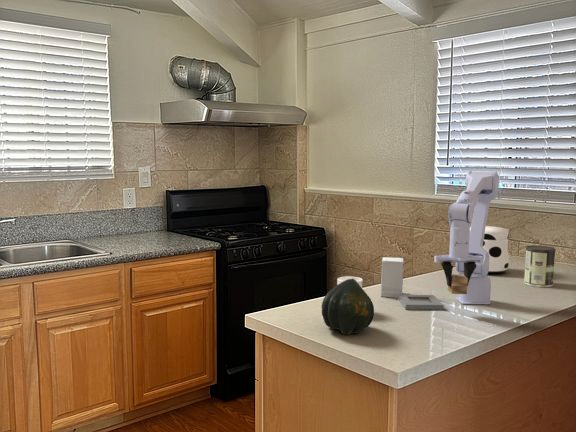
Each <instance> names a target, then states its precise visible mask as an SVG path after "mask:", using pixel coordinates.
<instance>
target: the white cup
mask: <svg viewBox="0 0 576 432" xmlns="http://www.w3.org/2000/svg"><path fill="white" fill-rule="evenodd" d="M352 278H353V279H354V280H355V281H356V282H357V283H358V284H359V285H360V286H361V288H362V289H363V280H364V279H363V278H362V277H358V276H351V275H350V276H349V275H348V276H347V275H346V276H340V277H337V279H336V280H337V281H336V282H337V285H338V284H340V283H342V282H344V281H345V280H348V279H352ZM337 285H336V286H337Z"/></svg>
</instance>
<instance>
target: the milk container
mask: <svg viewBox="0 0 576 432" xmlns="http://www.w3.org/2000/svg"><path fill="white" fill-rule="evenodd" d="M470 229H471V226H470ZM509 233H510V232H509V229H508V228H504V227H500V226H494V225H493V226H490V225H486V228H485V234H484V240H483V246H482V248H484V249H485V250H486V251H487V252H488V254H489V256H490V258H489V271H488V274H500V273H505V272H506V271H508V269H509V266H510V255H509V251H508V250H509V237H510V234H509Z"/></svg>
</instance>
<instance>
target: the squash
mask: <svg viewBox="0 0 576 432" xmlns="http://www.w3.org/2000/svg"><path fill="white" fill-rule="evenodd" d="M374 315H375V307H374V304H373V301H372V299H371V297H370V296H369V294H367V292H366V291H365V290H364V289H363V287H362V288H361V286H360V285H359V284H358V283H357V282H356V281H355V280H354V279H353V278H352V279H348V280H345V281H344V282H342V283H340V284H338V285H336V286H334V287H333V288H331V289H330V290H329V291H328V292H327V293H326V295H325V296H324V297H323V300H322V302H321V316H322V318H323V323H324V324H325V325H326V326H327V327H328V328H330V329H335V330H340V332H341V333H342V334H344V335H347V336H348V335H350V334H351V333H354V334H359V333H361V332H363V331H364V330H365V329H366V328H368V327H369V326H370V325H371V323H372V322H373V320H374Z"/></svg>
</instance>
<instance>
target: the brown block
mask: <svg viewBox="0 0 576 432" xmlns="http://www.w3.org/2000/svg"><path fill="white" fill-rule="evenodd" d="M467 282H468V278H467V277H466V276H464V275H459V274H456V273H455V274H454V273H452V283H451V286H448V285H447V291H448V292H450V293H451V295H452V294H453V295H460V294H467Z"/></svg>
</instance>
